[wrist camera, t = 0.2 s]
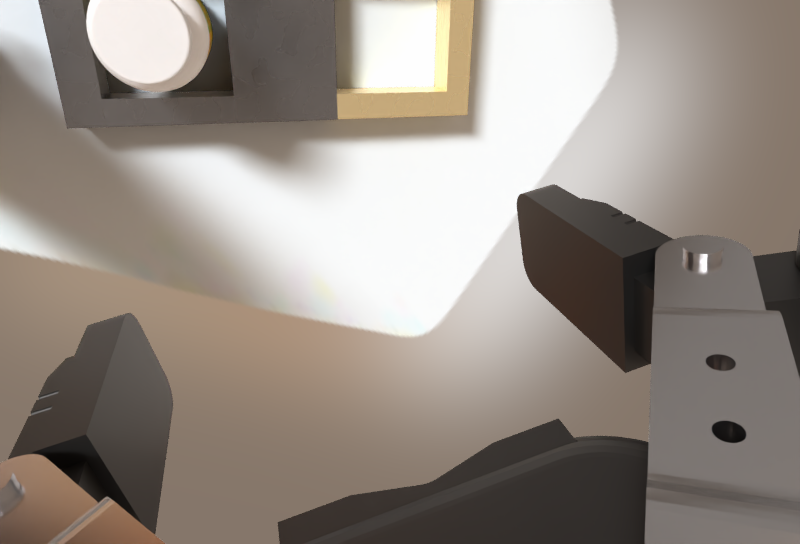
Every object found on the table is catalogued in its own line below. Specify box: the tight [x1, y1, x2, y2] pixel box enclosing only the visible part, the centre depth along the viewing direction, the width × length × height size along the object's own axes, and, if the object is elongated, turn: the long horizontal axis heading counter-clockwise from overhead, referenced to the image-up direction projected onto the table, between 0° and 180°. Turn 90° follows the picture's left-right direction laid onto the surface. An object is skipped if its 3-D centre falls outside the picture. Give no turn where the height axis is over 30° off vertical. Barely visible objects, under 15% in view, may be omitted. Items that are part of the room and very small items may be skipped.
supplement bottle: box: [86, 0, 213, 92], centre depth 29 cm, size 5×5×10 cm
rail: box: [38, 0, 474, 128], centre depth 33 cm, size 10×24×2 cm, turn 90°
